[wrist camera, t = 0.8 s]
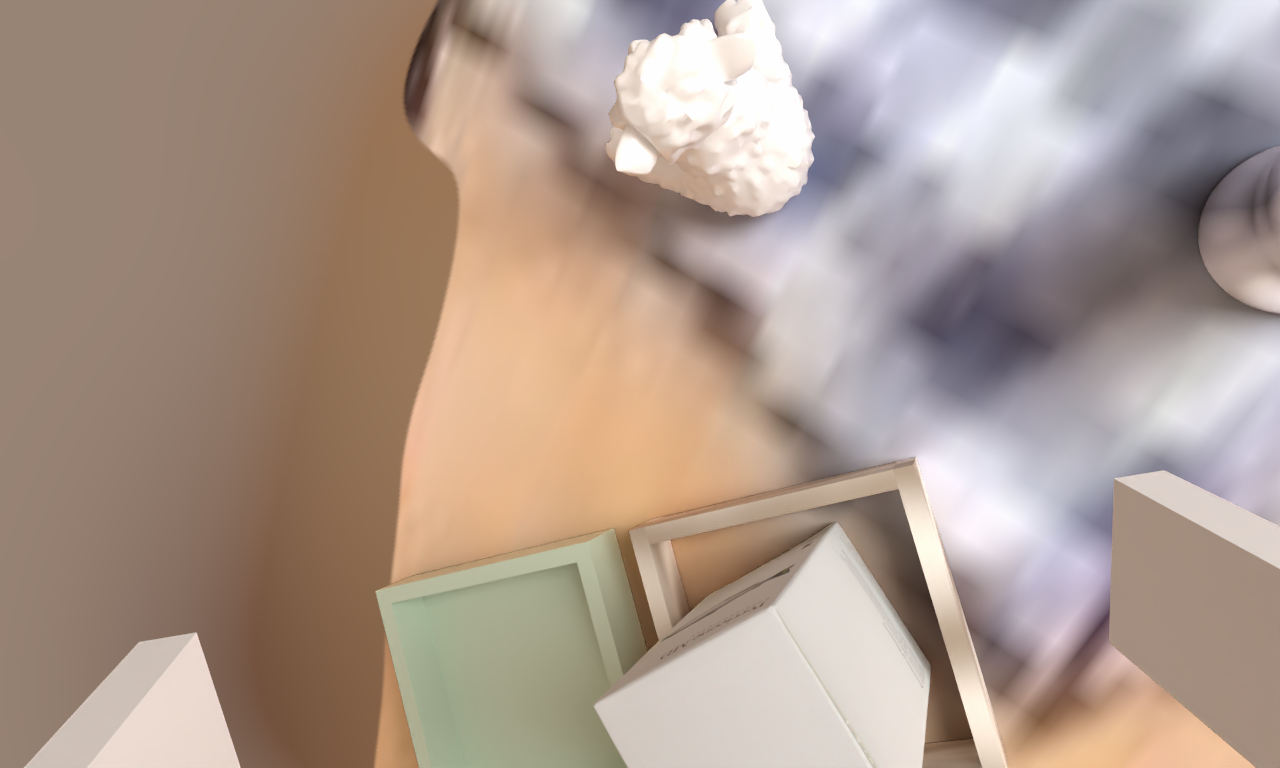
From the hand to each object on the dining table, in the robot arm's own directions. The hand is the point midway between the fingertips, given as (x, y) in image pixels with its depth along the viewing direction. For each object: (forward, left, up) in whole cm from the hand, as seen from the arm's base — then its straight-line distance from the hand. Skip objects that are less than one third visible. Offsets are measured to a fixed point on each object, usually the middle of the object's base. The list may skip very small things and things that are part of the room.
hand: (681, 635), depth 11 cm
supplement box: (+7, -4, -24) cm, 26 cm away
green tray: (+7, -19, -24) cm, 31 cm away
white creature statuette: (-15, -1, -24) cm, 29 cm away
